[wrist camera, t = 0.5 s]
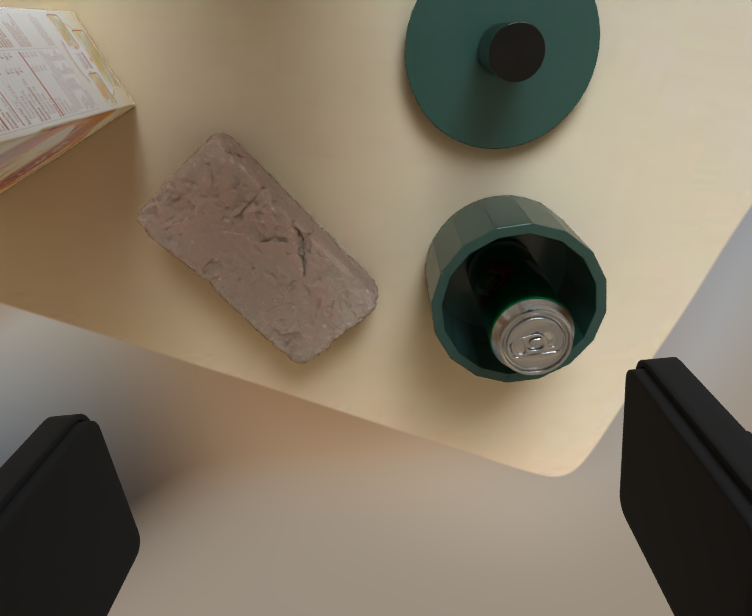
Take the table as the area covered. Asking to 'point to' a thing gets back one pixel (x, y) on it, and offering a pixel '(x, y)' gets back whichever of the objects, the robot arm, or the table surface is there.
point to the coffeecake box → (50, 89)
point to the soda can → (520, 309)
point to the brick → (259, 249)
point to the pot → (552, 254)
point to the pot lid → (500, 65)
